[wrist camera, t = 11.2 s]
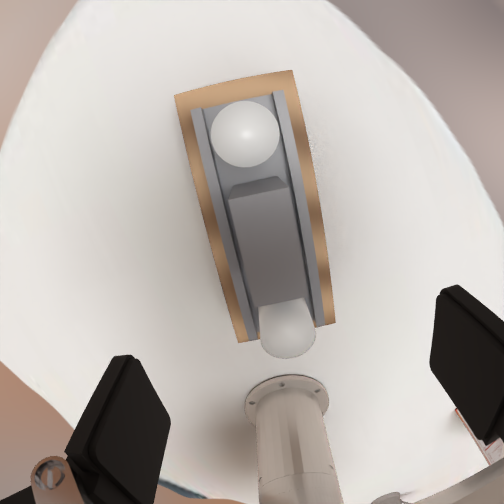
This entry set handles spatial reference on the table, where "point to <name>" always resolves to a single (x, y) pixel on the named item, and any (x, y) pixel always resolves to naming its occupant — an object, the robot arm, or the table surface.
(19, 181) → the table surface
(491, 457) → the cracker box
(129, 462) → the robot arm
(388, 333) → the table surface
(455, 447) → the table surface
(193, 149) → the curved wooden channel
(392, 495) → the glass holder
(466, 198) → the table surface
